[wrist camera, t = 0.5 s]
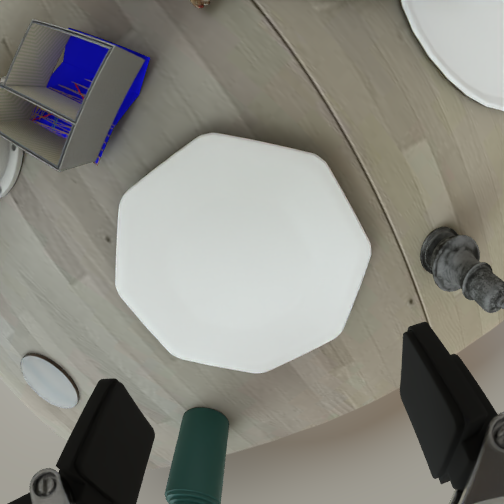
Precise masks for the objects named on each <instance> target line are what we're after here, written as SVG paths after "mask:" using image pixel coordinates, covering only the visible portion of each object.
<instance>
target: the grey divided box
mask: <svg viewBox="0 0 504 504" xmlns="http://www.w3.org/2000/svg"><path fill="white" fill-rule="evenodd" d="M64 48H65V52H64V59H63V62H62V63H61V65H60V66H59V67H58V68H57V69H56V70H55V72H54V73H53V70H54V68H55V66H56V64H57V62H58V60H59V58H60V56H61V54H62V52H63V50H64ZM149 60H150V58H149V57H147V56H145V55H142V54H140V53H137V52H135V51H132V50H130V49H127V48H125V47H122V46H120V45H117V44H115V43H112V42H109V41H107V40H104V39H101V38H98V37H95V36H92V35H90V34H87V33H84V32H81V31H78V30H75V29H71V28H69V29H66V28H63V27H60V26H57V25H53V24H50V23H46V22H43V21H39V20H35V19H32V21H31V23H30V25H29V27H28V29H27V31H26V33H25V35H24V37H23V39H22V41H21V43H20V45H19V47H18V49H17V52H16V54H15V56H14V58H13V61H12V63H11V65H10V68H9V70H8V73H7V75H6V78H5V81H4V82H0V136H1V137H3V138H4V139H6V140H7V141H9V142H11V143H12V144H14V145H15V146H17V147H19V148H20V149H22V150H24V151H25V152H27V153H28V154H30V155H32V156H33V157H35V158H37V159H38V160H40V161H41V162H43V163H45V164H46V165H48V166H50V167H51V168H53V169H55V170H56V171H58V172H61V171H64V170H67V169H71V168H74V167H77V166H81V165H84V164H87V163H91V162H93V163H95V164H96V165H98V163H99V161H100V158H101V156H102V153H103V151H104V149H105V146H106V144H107V142H108V140H109V137H110V135H111V133H112V131H113V129H114V127H115V126H116V124H117V123H118V121H119V120H120V119H121V117H122V116H123V115H124V113H125V112H126V111H127V110H128V108H129V107H130V106H131V104H132V103H133V102H134V101H135V99H136V98H137V97H138V96H139V94H140V90H141V86H142V83H143V80H144V76H145V73H146V70H147V67H148V63H149ZM52 73H53V74H52Z"/></svg>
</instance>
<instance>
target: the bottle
mask: <svg viewBox="0 0 504 504" xmlns="http://www.w3.org/2000/svg"><path fill="white" fill-rule="evenodd" d="M228 429H229V422H228V419H227V418H226V417H225V416H224V415H223V414H222V413H220V412H218V411H216V410H213V409H209V408H193V409H190V410H188V411H187V412H186V413H185V414H184V416H183V419H182V423H181V427H180V432H179V436H178V440H177V444H176V448H175V452H174V456H173V461H172V465H171V469H170V474H169V478H168V482H167V486H166V491H165V497H166V500H167V502H168V503H169V504H221V494H222V486H223V476H224V467H225V457H226V448H227V439H228Z"/></svg>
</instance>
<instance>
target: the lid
mask: <svg viewBox="0 0 504 504" xmlns="http://www.w3.org/2000/svg"><path fill="white" fill-rule="evenodd" d="M21 370H22V373H23V376H24V378H25V379H26V381H27V383H28V384H29V385H30V387H31V388H32V389H33V390H34V391H35V392H36V393H37V394H38V395H39V396H40V397H42V398H43V399H44V400H46V401H47V402H49V403H51V404H53V405H55V406H58V407H61V408H72V407H74V406H76V404H77V403H78V401H79V392H78V389H77V387H76V385H75V383H74V382H73V380H72V379H71V378H70V376H69V375H68V374H67V373H66V372H65V371H64V370H63V369H62V368H61V367H60V366H58V365H57V364H56V363H55V362H53V361H52V360H50V359H48V358H46V357H44V356H42V355H39V354H34V353H30V354H27V355H25V356H24V357H23V359H22V361H21Z"/></svg>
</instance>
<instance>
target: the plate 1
mask: <svg viewBox="0 0 504 504" xmlns="http://www.w3.org/2000/svg"><path fill="white" fill-rule="evenodd" d="M370 258H371V243H370V241H369V239H368V237H367V235H366V233H365V231H364V229H363V227H362V226H361V224H360V222H359V220H358V218H357V216H356V214H355V212H354V210H353V209H352V207H351V205H350V203H349V201H348V199H347V198H346V196H345V194H344V192H343V190H342V189H341V187H340V185H339V183H338V182H337V180H336V178H335V176H334V175H333V173H332V171H331V170H330V168H329V166H328V164H327V163H326V162H325V161H324V160H323V159H321V158H320V157H319V156H317V155H316V154H314V153H310V152H306V151H301V150H297V149H293V148H289V147H284V146H280V145H276V144H271V143H266V142H262V141H257V140H252V139H247V138H242V137H236V136H231V135H226V134H220V133H214V132H212V133H208V134H203V135H200V136H198V137H197V138H195V139H194V140H192V141H191V142H190V143H188V144H187V145H186V146H184V147H183V148H181V149H180V150H179V151H177V152H176V153H175V154H173V155H172V156H171V157H169V158H168V159H167V160H165V161H164V162H163V163H161V164H160V165H159V166H157V167H156V168H155V169H154V170H152V171H151V172H150V173H149V174H147V175H146V176H145V177H143V178H142V179H141V180H140V181H138V182H137V183H136V184H135V185H134V186H132V187H131V188H130V189H129V190H127V191H126V192H125V193H124V195H123V197H122V199H121V201H120V203H119V211H118V226H117V244H116V278H115V286H116V288H117V291H118V294H119V296H120V297H121V298H122V299H123V300H124V302H125V303H126V304H127V305H128V306H129V308H130V309H131V310H132V311H133V312H134V314H135V315H136V316H137V317H138V318H139V319H140V320H141V322H142V323H143V324H144V325H145V326H146V327H147V328H148V330H149V331H150V332H151V333H152V334H153V335H154V336H155V337H156V338H157V339H158V341H159V342H160V343H161V344H162V345H163V346H164V347H165V348H166V349H167V350H168V351H169V352H170V353H171V354H172V355H174V356H176V357H177V358H179V359H183V360H188V361H192V362H197V363H202V364H206V365H211V366H216V367H221V368H227V369H232V370H238V371H243V372H249V373H255V374H256V373H264V372H268V371H270V370H272V369H274V368H276V367H279V366H281V365H283V364H285V363H287V362H289V361H291V360H293V359H295V358H297V357H300V356H302V355H304V354H306V353H308V352H310V351H312V350H314V349H316V348H318V347H320V346H321V345H323V344H325V343H327V342H329V341H331V340H333V339H335V338H336V337H337V336H338V335H339V334H340V333H341V332H342V331H343V329H344V326H345V324H346V322H347V319H348V317H349V314H350V312H351V309H352V307H353V304H354V301H355V299H356V296H357V294H358V291H359V288H360V286H361V283H362V280H363V277H364V275H365V272H366V269H367V266H368V263H369V261H370Z"/></svg>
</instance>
